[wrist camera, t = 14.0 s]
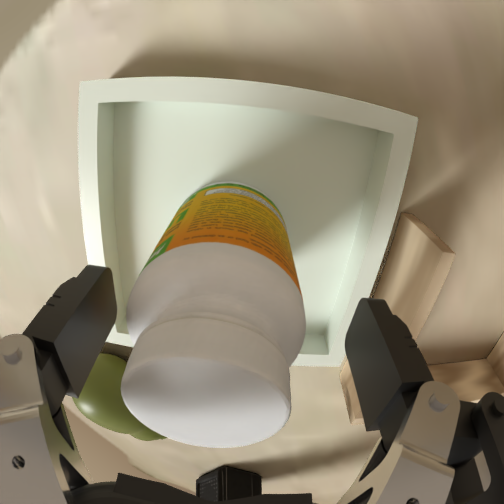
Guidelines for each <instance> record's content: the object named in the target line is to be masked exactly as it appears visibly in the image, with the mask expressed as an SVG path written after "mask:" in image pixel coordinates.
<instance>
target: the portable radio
mask: <svg viewBox="0 0 504 504" xmlns="http://www.w3.org/2000/svg"><path fill="white" fill-rule="evenodd" d="M257 495H262V487H261V476H259V475H257V474H254V473H251V472H247V471H242V470H238V469H234V468H230V467H227V466H223V467H221V468H218V469H216V470H214V471H212V472H210V473H207V474H205V475H203V476H201V477H199V479H197V480H196V496H197V497H200V498H203V499H206V500H209V501H215V502H216V501H226V500H233V499H240V498H246V497H252V496H257Z"/></svg>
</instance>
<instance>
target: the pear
mask: <svg viewBox="0 0 504 504" xmlns="http://www.w3.org/2000/svg"><path fill="white" fill-rule="evenodd" d="M126 365H127V362H126V361H125V360H123V359H121V358H119V357H117V356H115V355H111V354H106V353H99V355H98V357H97V359H96V361H95V364H94V366H93V368H92V370H91V372H90V374H89V376H88V378H87V380H86V382H85V385H84V387H83V389H82V391H81V393H80V395H79V398H78V399H77V398H74V397H72V398H73V401H74V403H75V405H76V406H77V408H78V409H79V410H80V412H81V413H82V414H83V415H84V416H86V417H87V418H88V419H90V420H91V421H93V422H94V423H96V424H98V425H100V426H102V427H104V428H107V429H109V430H112V431H115V432H119V433H124V434H130V435H132V436H133V437H135V438H137V439H139V440H144V441H152V440H158V439H165V438H168V437H165V436H163V435H161V434H159V433H157V432H155V431H153V430H151V429H150V428H148V427H147V426H145V425H144V424H143V423H141V422H140V421H139V420H138V419H137V418H136V417H135V416H134V415H133V414H132V413H131V412H130V411H129V409H128V408H127V406H126V405H125V403H124V401H123V398H122V395H121V381H122V377H123V374H124V371H125V368H126Z"/></svg>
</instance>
